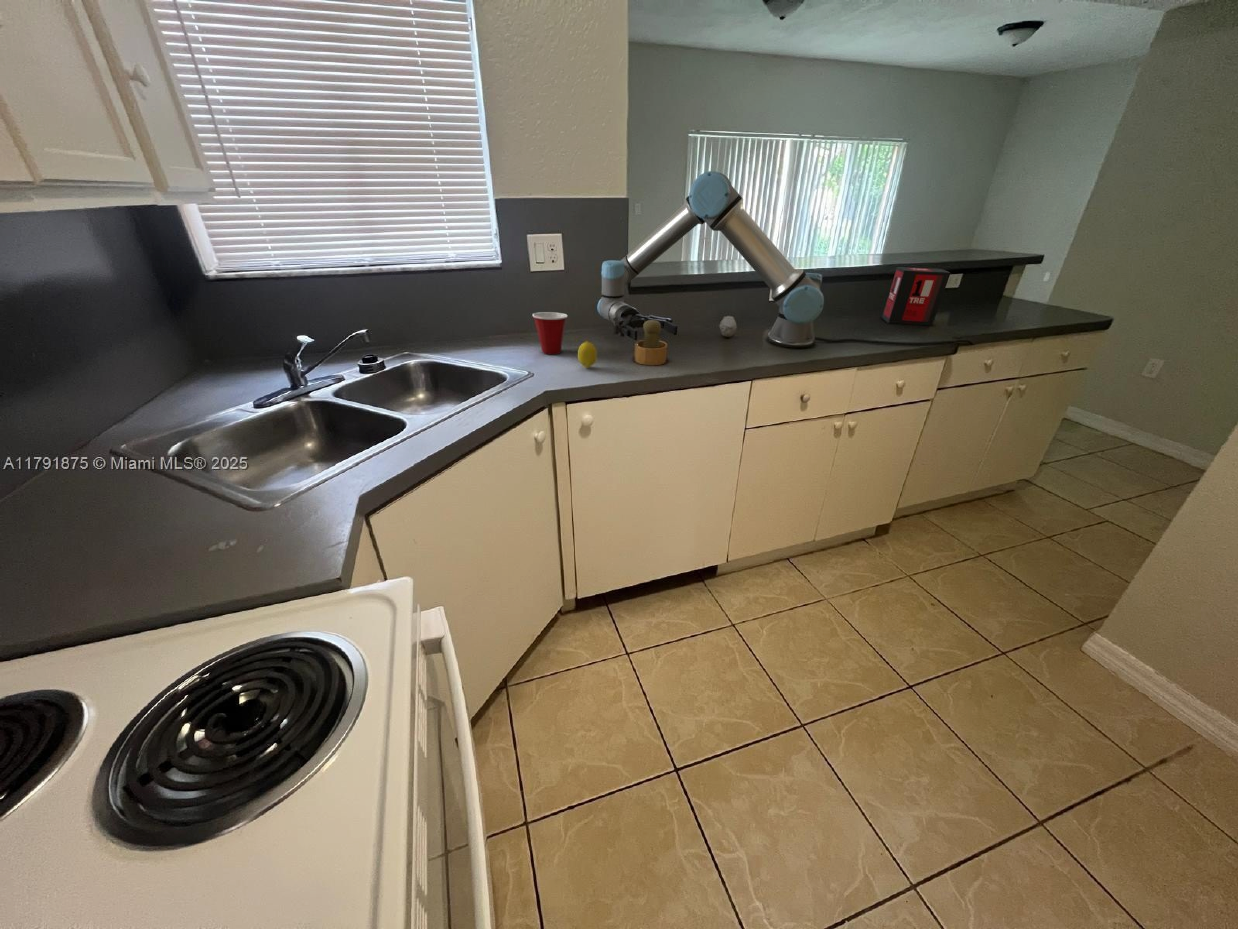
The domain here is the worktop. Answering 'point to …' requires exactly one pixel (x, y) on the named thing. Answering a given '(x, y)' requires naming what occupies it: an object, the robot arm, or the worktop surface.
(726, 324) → the crumpled white ball
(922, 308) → the cleaning product box
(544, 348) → the plastic cup
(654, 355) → the wooden cup
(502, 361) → the worktop surface
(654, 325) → the wooden peg doll
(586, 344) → the lemon
